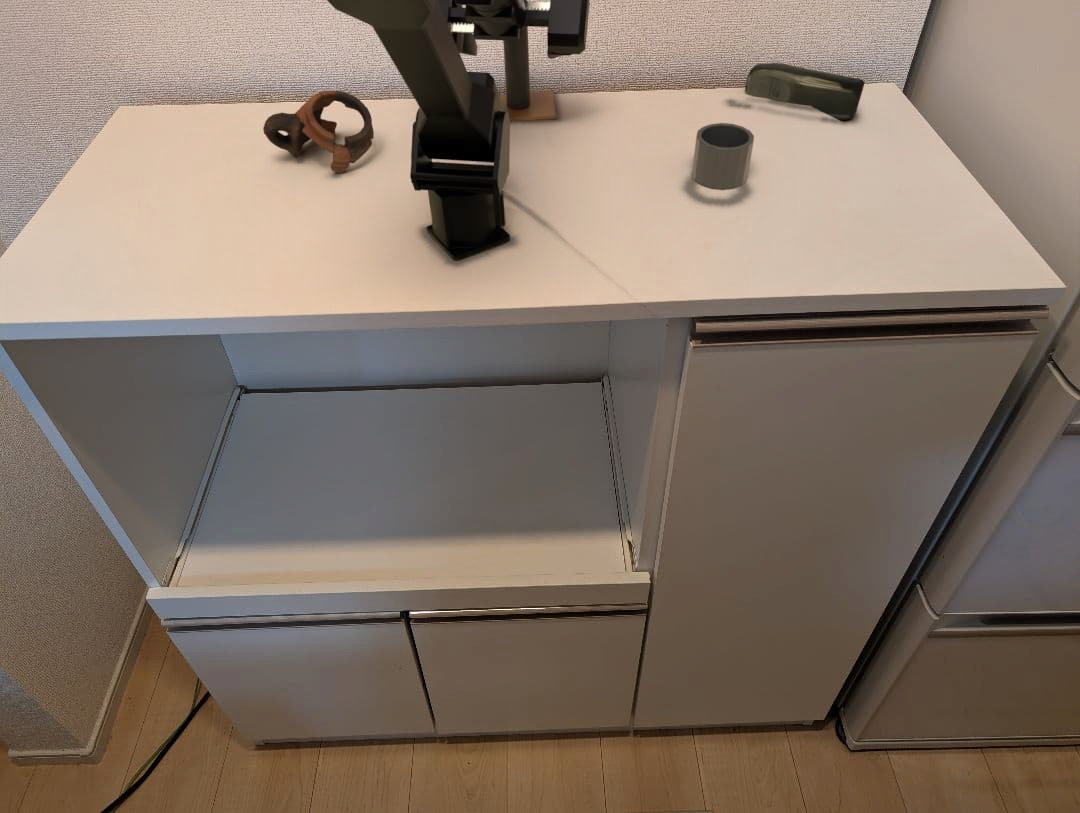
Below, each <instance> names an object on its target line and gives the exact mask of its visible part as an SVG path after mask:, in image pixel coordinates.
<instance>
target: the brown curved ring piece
mask: <svg viewBox="0 0 1080 813" xmlns="http://www.w3.org/2000/svg"><path fill="white" fill-rule="evenodd" d="M334 102H338V103H341V104H343V105H344V107H345V108H348V109H352V110H354V111H357V112H358V113H359V114H360V116H361V118H362V120H363V127H362V128H361V130H360V131H358V132H357V133H355V134H352V135H345V136H344V144H341V143H338V142H336V141H335V137H336V128H337V126H338V123H337V122H336V121H332V120H327V119H324V118H322V114H323V111H324V109H325V108H327V107H329V106H331V104H332V103H334ZM262 128H263V129H262V130H263V133H264V135H265V136H266V138H267V140H268V141H269V142H270V143H271V144H273V145H274V146H275V147H277V148H279V149H282V150H285V151H287V152H288V153H290V155H291V156H292V157H293V158H295V159H298V158H299V157H300V153H301V151H302V149H303V148H304V145H305V144H306V143H308V142H309V141H310V140H311V141H312V142H314V143H316V145H318V146H319V147H320V148H322V149H323V150H325V151H327V152H328V153H330V154H332V162H331V164H330V169H331V171H332V172H335V173H340V174H343V173H346V171H347V169H349V168H350V164H354V163H356V162H357V161H359V160H360V159H361V158H362V157H363V156H364V155H365V154H366V153H367V152H368V151H369V149H370V148H371V147H372V145H373V141H372V140H373V139H374V137H375V136H374V135H375V134H374V132H375V131H374V128H373V119H372V114H371V112H370V110H369V108H368V107H367V106H366V105H365V104H364V103H363V101H361V100H360V99H359V98H358V97H356V96H355V95H353V94H350V93H348V92H345V91H340V90H322V91H319V92H318V93H314V94H313V95H312V96H311V97H310V98H309V99H308V100H307V101H306V102H305V103H304V104H303V105H301V106H300V107H299V109H298V110H296V111H295V113H288V112H286V113H285V112H278V113H274V114H272V115H270V116H268V117H267V119H266V120H265V122H264V124H263V127H262ZM281 132H285V133H287V134H286V135H284V134H283V133H281Z"/></svg>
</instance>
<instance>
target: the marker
mask: <svg viewBox="0 0 1080 813" xmlns="http://www.w3.org/2000/svg"><path fill="white" fill-rule="evenodd" d="M524 1H528V0H524ZM502 42H503V44H502V46H503V62H504V78H505V94H506V99H507V107H508V108H510V109H513V110H523V109H526V108H528V107H529V106H530V92H531V82H530V79H531V78H530V52H529V48H530V47H529V26H523V27H522V29H521V30H520V36H519V41H504V40H502Z"/></svg>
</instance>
